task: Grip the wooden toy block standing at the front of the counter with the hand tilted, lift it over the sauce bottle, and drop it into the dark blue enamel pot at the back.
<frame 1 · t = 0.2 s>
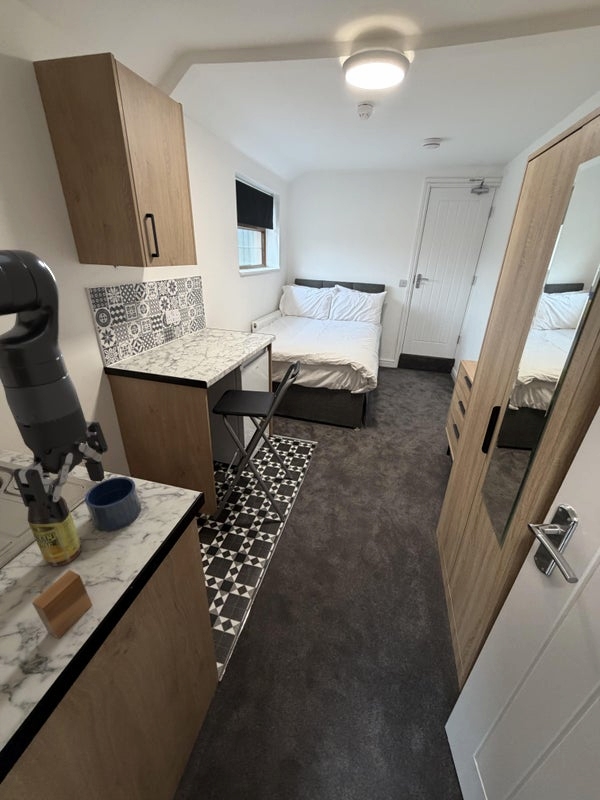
hand: (80, 497, 52), 21 cm above the counter, tool pointing down, fingers open, 8 cm apart
sauce bottle: (66, 555, 66), on the counter
pot: (117, 514, 76), on the counter
wooden toy block: (71, 618, 55), on the counter
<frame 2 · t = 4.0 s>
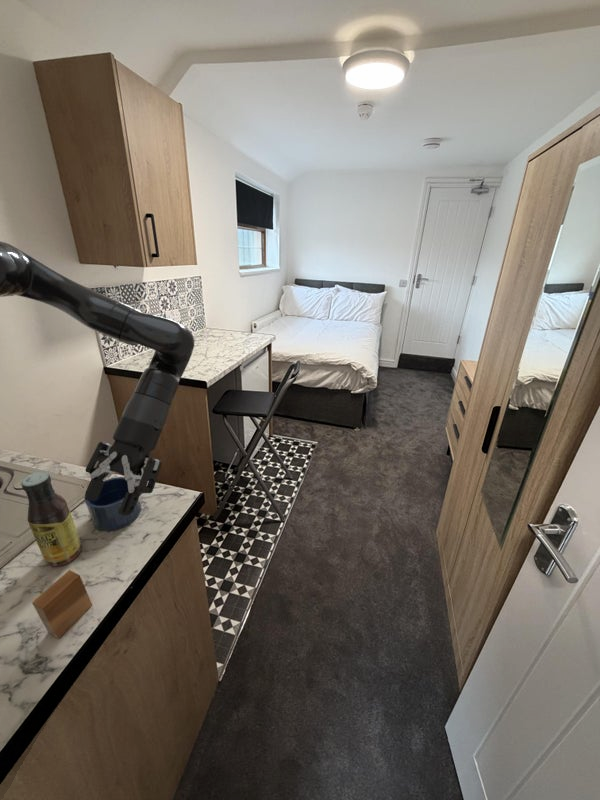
hand: (106, 507, 58), 15 cm above the counter, tool tilted 45°, fingers open, 8 cm apart
nothing on the counter moved.
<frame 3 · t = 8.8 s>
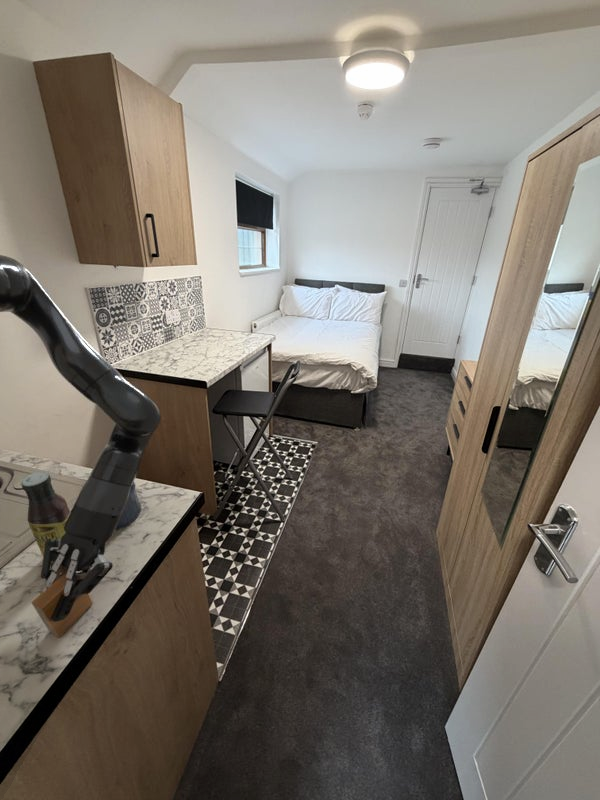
hand: (51, 615, 52), 4 cm above the counter, tool tilted 45°, fingers closed on wooden toy block, 2 cm apart
wooden toy block: (72, 616, 55), on the counter, touching gripper
everything else where it was.
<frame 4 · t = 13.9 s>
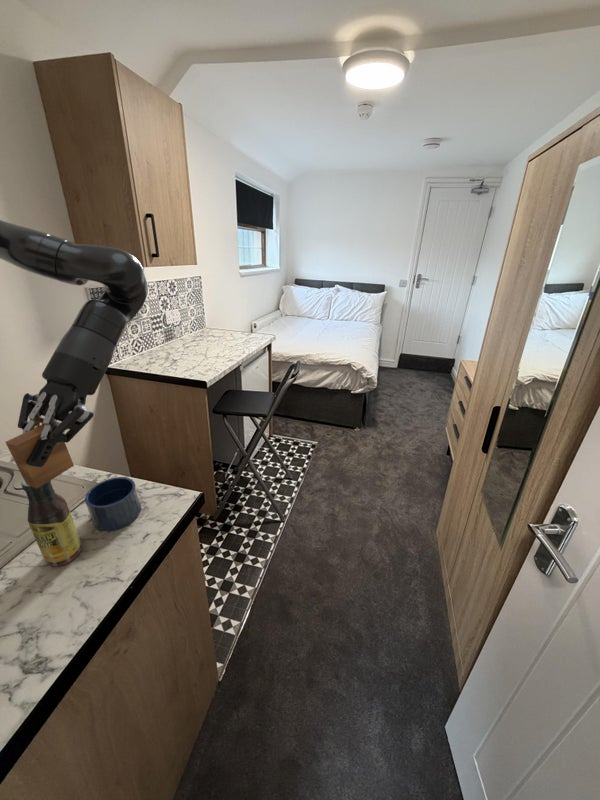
hand: (27, 462, 49), 28 cm above the counter, tool tilted 45°, fingers closed on wooden toy block, 2 cm apart
wooden toy block: (51, 474, 52), point 24 cm above the counter, touching gripper
everything else where it was.
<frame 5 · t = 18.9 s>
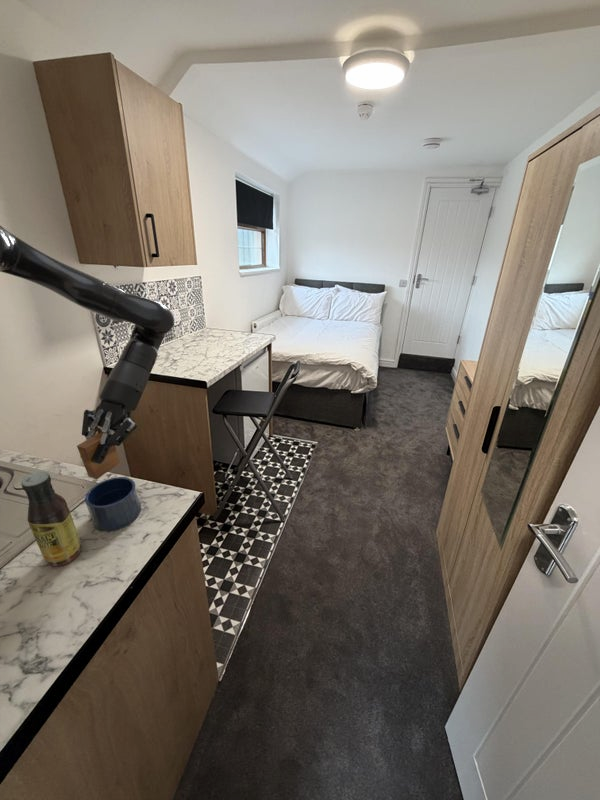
hand: (90, 460, 67), 17 cm above the counter, tool tilted 45°, fingers closed on wooden toy block, 2 cm apart
wooden toy block: (104, 469, 71), point 13 cm above the counter, touching gripper
everything else where it was.
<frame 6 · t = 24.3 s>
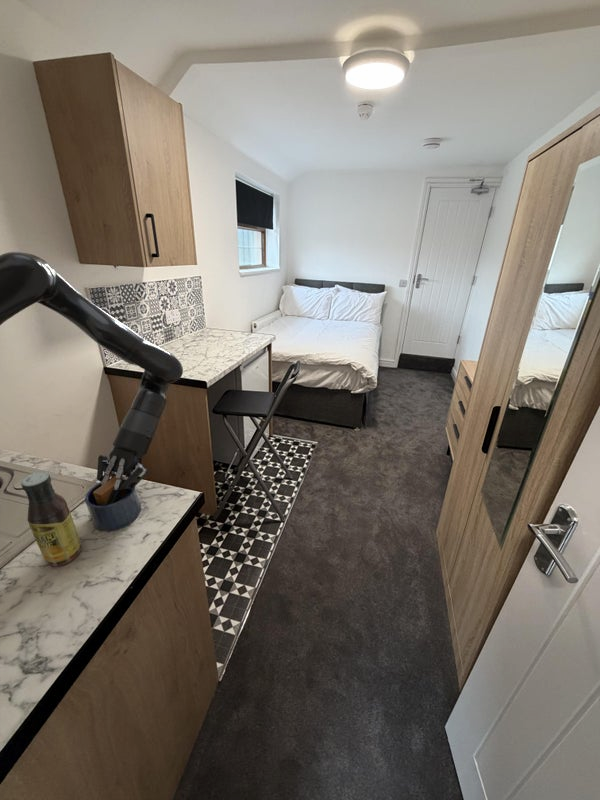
hand: (105, 504, 72), 5 cm above the counter, tool tilted 45°, fingers closed on wooden toy block, 2 cm apart
wooden toy block: (117, 510, 76), point 1 cm above the counter, touching gripper
everything else where it was.
when the fingers open (7 cm above the counter, at t = 29.4 s): wooden toy block drops 3 cm, resting on pot.
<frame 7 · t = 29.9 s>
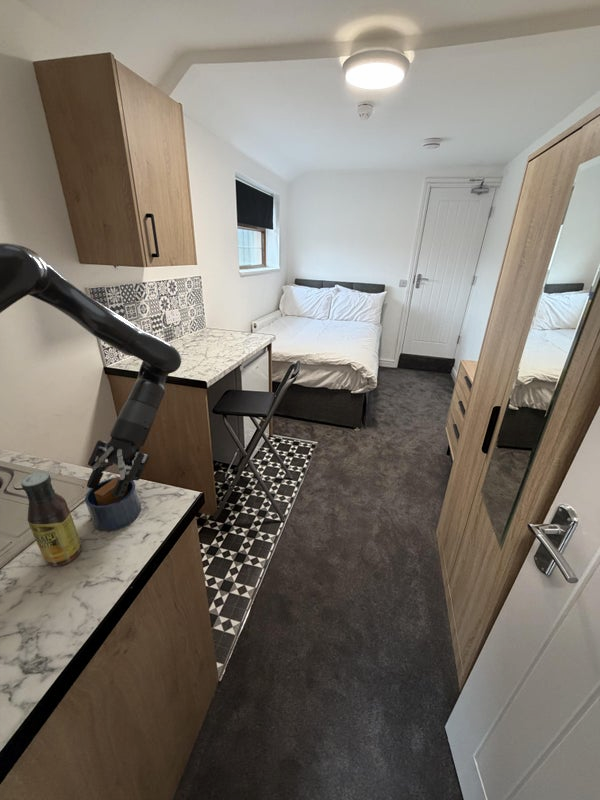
hand: (103, 492, 71), 8 cm above the counter, tool tilted 45°, fingers open, 7 cm apart
wooden toy block: (118, 512, 76), point 1 cm above the counter, touching pot
everything else where it was.
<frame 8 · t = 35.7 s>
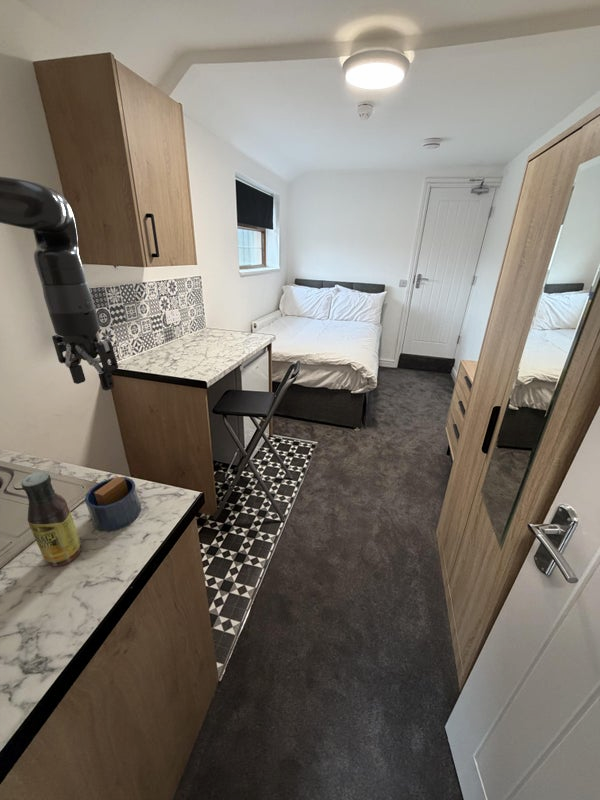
hand: (94, 385, 69), 30 cm above the counter, tool pointing down, fingers open, 8 cm apart
nothing on the counter moved.
at the end: wooden toy block inside the target area in the pot (0.2 cm from its centre), point 0.6 cm above the pot's base; the gripper is holding nothing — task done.
